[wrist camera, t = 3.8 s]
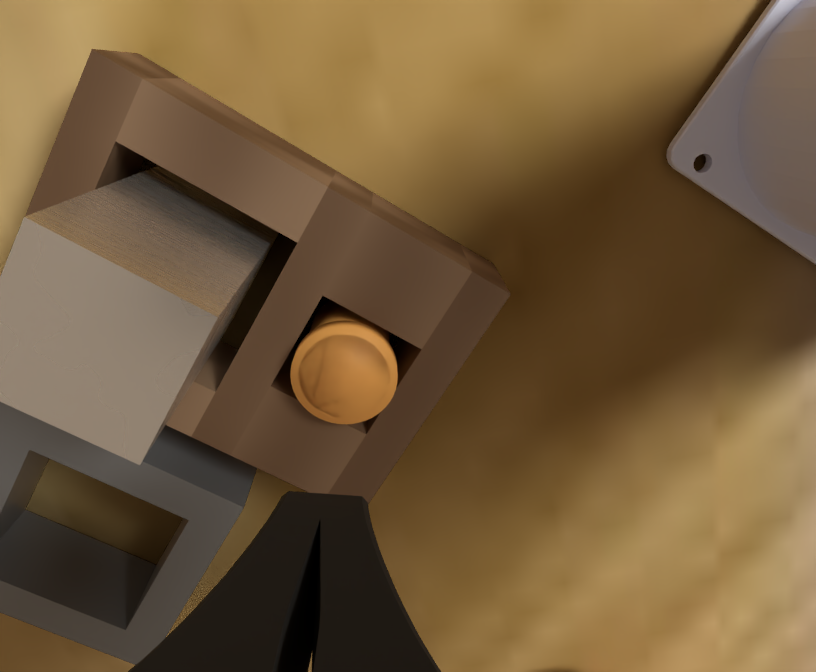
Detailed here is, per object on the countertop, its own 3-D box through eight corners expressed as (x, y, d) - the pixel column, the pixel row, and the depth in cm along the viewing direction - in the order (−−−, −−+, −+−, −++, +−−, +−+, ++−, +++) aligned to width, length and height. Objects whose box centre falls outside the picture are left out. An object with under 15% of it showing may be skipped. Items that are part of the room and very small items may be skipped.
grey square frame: (261, 453, 22) (244, 507, 19) (173, 601, 24) (146, 668, 22) (53, 353, 21) (1, 396, 18) (-22, 520, 23) (-78, 582, 20)
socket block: (493, 264, 20) (510, 294, 17) (363, 461, 22) (359, 516, 20) (138, 53, 18) (91, 49, 15) (34, 300, 20) (-23, 336, 17)
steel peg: (282, 225, 20) (218, 317, 12) (229, 325, 21) (140, 465, 13) (168, 162, 19) (23, 216, 11) (119, 268, 20) (-43, 382, 12)
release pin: (412, 317, 20) (417, 359, 17) (367, 389, 21) (364, 440, 18) (331, 273, 20) (322, 307, 17) (288, 348, 20) (271, 394, 18)
